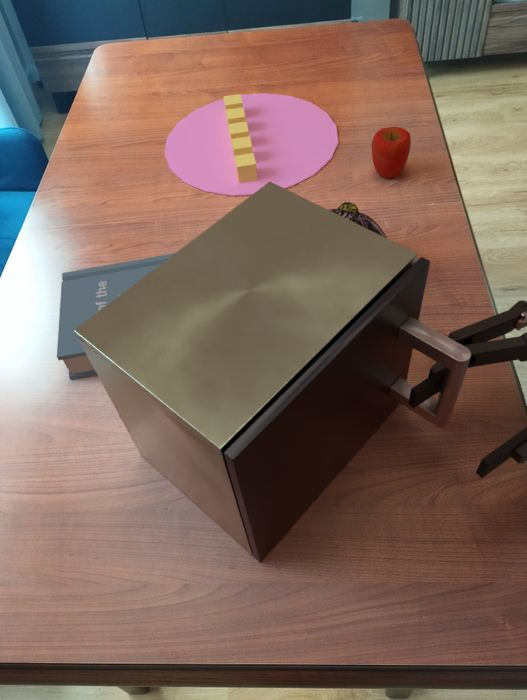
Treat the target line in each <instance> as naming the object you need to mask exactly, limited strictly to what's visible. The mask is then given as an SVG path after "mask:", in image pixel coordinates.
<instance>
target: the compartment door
mask: <svg viewBox="0 0 527 700" xmlns="http://www.w3.org/2000/svg"><path fill="white" fill-rule="evenodd" d="M430 264H431V260H430V259H427V258H425V257H423V256H421V257H419V258H417V261H416V262H415V263H414V264H413V265H412V266H411V267H410V268H409V269H408V270H407V271H406V272H405V273H404V274H403V275H402V276H401V277H400V278H399V279H398V280H397V281H396V282H395V283H394V284H393V285H392V286H391V287H390V288H389V289H388V290H387V291H386V292H385V293H384V294H383V295H382V296H381V297H380V298H379V299H378V300H377V301H376V302H375V303H374V304H373V305H372V306H371V307H370V308H369V309H368V310H367V311H366V312H365V313H364V314H363V315H362V316H361V317H360V318H359V319H358V320H357V321H356V322H355V323H354V324H353V325H352V326H351V327H350V328H349V329H348V330H347V331H346V332H345V333H344V334H343V335H342V336H341V337H340V338H339V339H338V340H337V341H336V342H335V343H334V344H333V345H332V346H331V347H330V348H329V349H328V350H327V351H326V352H325V353H324V354H323V355H322V356H320V357H319V358H318V359H317V360H316V361H315V362H314V363H313V364H312V365H311V366H310V367H309V368H308V369H307V370H306V371H305V372H304V373H303V374H302V375H301V376H300V377H299V378H298V379H297V380H296V381H295V382H294V383H293V384H292V385H291V386H290V387H289V388H288V389H287V390H286V391H285V392H284V393H283V394H282V395H281V396H280V397H279V398H278V399H277V400H276V401H275V402H274V403H273V404H272V405H271V406H270V407H269V408H268V409H267V410H266V411H265V412H264V413H263V414H262V415H261V416H260V417H259V418H258V419H257V420H256V421H255V422H254V423H253V424H252V425H251V426H250V427H249V428H248V429H247V430H246V431H245V432H244V433H243V434H242V435H241V436H240V437H239V438H238V439H237V440H236V441H235V442H234V443H233V444H232V445H231V446H230V447H229V448H228V449H227V450H226V451H225V452H224V456H225V460H226V463H227V466H228V470H229V473H230V477H231V480H232V483H233V487H234V490H235V494H236V497H237V500H238V504H239V507H240V511H241V514H242V518H243V521H244V524H245V528H246V531H247V535H248V538H249V541H250V545H251V548H252V552H253V555H252V556H253V558H254V559H256V560H257V562H258V563H260V564H261V563H262V562H263V561H264V560H265V559H266V558H267V557H268V556H269V554H270V553H271V552H272V551H273V550H274V549H275V548H276V546H277V545H278V544H279V543H280V542H281V541H282V540H283V538H284V537H285V536H286V535H287V534H288V533H289V532H290V531H291V529H292V528H293V527H294V526H295V525H296V523H298V522H299V520H300V519H301V518H302V517H303V515H305V513H307V511H308V510H309V509H310V507H311V506H312V505H314V503H315V502H316V501H317V500H318V499H319V497H320V496H321V495H322V494H323V493H324V492H325V490H326V489H328V487H329V486H330V485H331V484H332V483H333V482H334V480H335V479H336V478H337V477H338V475H339V474H340V473H341V472H342V471H343V470H344V469H345V468H346V466H347V465H348V464H349V463H350V462H351V461H352V460H353V458H354V457H355V456H356V455H357V454H358V453H359V452H360V450H361V449H362V448H364V446H365V445H366V444H367V443H368V441H369V440H370V439H371V438H372V437H373V436H374V435H375V434H376V432H377V431H378V430H379V429H380V427H381V426H382V425H383V424H384V423H385V422H386V421H387V419H388V418H389V417H390V416H391V415H392V414H393V413H394V411H396V409H397V408H398V407H399V406H400V405H401V406H403V407H404V408H406V409H408V410H409V411H411V412H413V414H415V415H417V416H419V417H420V418H422V419H423V420H425V421H427V422H428V423H430V424H431V425H432V426H435V427H436V428H438V429H445V428H446V427H448V426H449V424H450V422H451V418H452V415H453V412H454V409H455V406H456V403H457V401H458V398H459V394H460V392H461V388H462V385H463V382H464V379H465V377H466V376H465V375H466V373H467V371H468V368H467V367H468V364H469V361H470V358H471V352H470V350H469V349H468V348H466V347H465V346H463V345H461V344H459V343H457V342H456V341H454V340H452V339H450V338H448V335H447V336H446V335H445V334H443V333H441V332H439V331H437V330H436V329H434V328H432V327H431V326H429V325H427V324H424V323H423V322H421V321H419V320H420V317H421V315H420V314H421V310H422V307H423V306H422V305H423V301H424V296H425V290H426V287H427V286H426V285H427V280H428V275H429V270H430ZM414 350H415V351H418V352H419V353H421V354H423V355H425V356H426V357H428V358H429V359H431V360H433V361H434V362H435V363H437V362H438V363H440V364H441V365H443V366H445V367H446V370H445V374H444V377H443V381H442V384H441V388H440V391H439V392H438V394H437V398H434V397H433V396H432V397H431V398H429V399H427V400H426V401H424V402H423V403H421V404H420V405H418V406H417V407H415V408H414V409H413V408H412V407H411V406H410V405H409V404H408V402H409V397H410V393H411V388H413V387H415V385H413V384H412V383H410V382H408V376H409V371H410V366H411V362H412V356H413V351H414Z"/></svg>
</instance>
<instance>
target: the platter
mask: <svg viewBox="0 0 527 700" xmlns="http://www.w3.org/2000/svg"><path fill="white" fill-rule="evenodd" d="M338 145H339V135H338V126H337V125H336V123H335V121H334V120H333V118H331V116H330V115H329V113H328V112H327V111H325V110H324V109H322V108H321V107H318V106H317V105H316V104H314V103H313V102H312V101H308V100H305V99H301V98H299V97H295V96H292V95H289V94H288V95H287V94H286V95H285V94H278V93H269V92H268V93H267V92H263V93H251V94H250V93H248V94H241V93H238V94H231V95H224V96H223V98H221V99H218V100H214V101H213V102H210V103H208V104H206V105H203V106H201V107H199V108H197V109H194V110H193V111H192V112H190V113H189V114H188V115H186V116H185V117H184V118H182V119H181V120H180V121H178V122H176V125H174V127H173V129H172V130H171V131H170V133H169V134H168V136H167V137H166V140H165V146H164V150H163V155H164V158H165V161H166V163H167V166H168V169H169V171H170V172H172V173H173V174H174V175H175V176H176V177H177V178H178V179H179V180H180V181H181V182H182V183H184V184H186V185H187V186H190V187H192V188H195V189H198V190H200V191H202V192H205V193H210V194H217V195H224V196H228V197H240V196H243V197H244V196H251V195H253V194H254V193H255V192H256V191H258V190H259V189H260V188H262V187H263V186H264V185H266V184H267V183H268V182H272V183H274V184H276V185H278V186H280V187H282V188H284V189H286V190H287V189H288V188H292V187H294V186H296V185H298V184H301V183H302V182H304V181H306V180H307V179H309V178H311V177H313V176H315V175H316V174H317V173H319V171H321V170H322V169H323V168H324V167H325V166H326V165H327V164H328V163H329V162H330V161H331V160H332V158H333V157H334V154H335V152H336V149H337V147H338Z"/></svg>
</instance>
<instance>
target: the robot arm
mask: <svg viewBox="0 0 527 700" xmlns="http://www.w3.org/2000/svg"><path fill="white" fill-rule="evenodd" d="M524 328H527V300H522V299H521V300H518V301H517V302H516V303H514V304H513V305H512V306H511V307H510V308H509V309H508V310H504V311H502V312H500V313H497V314H494V315H492V316H489V317H487V318H484V319H481V320H479V321H476V322H473V323H471V324H469V325H466V326H464V327H460V328H459V329H456V330H453V331H451V332H449V333H448V335H447V337H448V338H450V339H452V340H454V341H456V342H457V343H459V344H461V345H463V346H465V347H466V348H468V349H469V350H470V352H471V358H470V361H469V364H468V367H467V369H470V368H476V367H482V366H489V365H494V364H495V365H496V364H500V363H506V362H512V361H519V362H527V332H524V333H522V334H521V335H519V336H513V337H507V338H499V337H502V336H505V335H508V334H509V333H511V332H513V331H514V330H516V331H520V330H522V329H524ZM497 338H499V339H497ZM494 339H495V340H494ZM445 370H446V367H445V366H443V365H441V364H440V363H438V362H435V363H434V364H432V365H431V367H430V368H429V372H428V376H427V378H425V379H424V380H423V381H421V382H419V383H417V384H416V385H414V387H413V388H411V393H410V397H409V402H408V404H409V405H410V406H411V407H412V408H413V409H414V408H415V407H417V406H418V405H420V404H421V403H423V402H424V401H426V400H427V399H429V398H431V397H432V398H433V397H434V396H436V394H437V395H438V394H439V391H440V388H441V384H442V381H443V377H444V374H445ZM511 458H512V459H513V460H514V461H515V462H516V463H517V464H524V463H527V426H526V427H525V428H523V429H521V430H520V431H519V432H517V433H516V434H515V435H513V436H511V438H509V439H507V440H506V441H504V442H503V443H502V444H501V445H499V446H497V447H496V448H495V449H493V450H492V451H491V452H489V453H487V454H486V455H485V456H484V457H482V458H481V460H480V462H479V464H478V466H477V468H476V471H475V474H476V475H477V476H479V478H480V479H484V478H485V477H486V476H487V475H489V474H490V473H491V472H493V471H494V470H496V469H497V468H499V467H500V466H502V465H503V464H504V463H505V462H507V461H508V460H509V459H511Z"/></svg>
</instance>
